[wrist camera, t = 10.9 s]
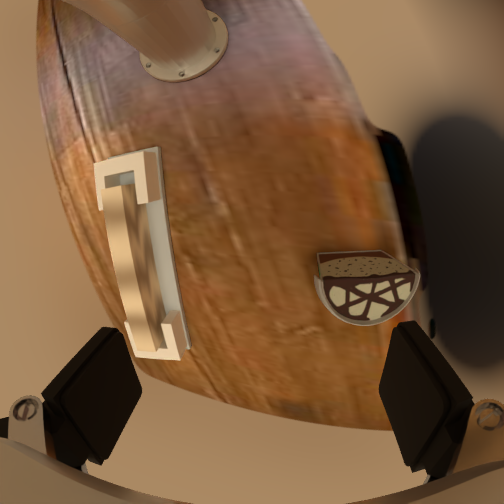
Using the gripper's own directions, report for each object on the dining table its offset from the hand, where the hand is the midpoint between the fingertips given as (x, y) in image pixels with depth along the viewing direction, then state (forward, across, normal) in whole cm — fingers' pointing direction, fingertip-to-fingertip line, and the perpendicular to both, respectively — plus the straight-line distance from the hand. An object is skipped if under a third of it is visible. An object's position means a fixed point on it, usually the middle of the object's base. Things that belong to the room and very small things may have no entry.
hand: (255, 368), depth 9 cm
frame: (+28, +17, +4) cm, 33 cm away
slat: (+27, +17, +5) cm, 33 cm away
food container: (+28, -11, +8) cm, 31 cm away
